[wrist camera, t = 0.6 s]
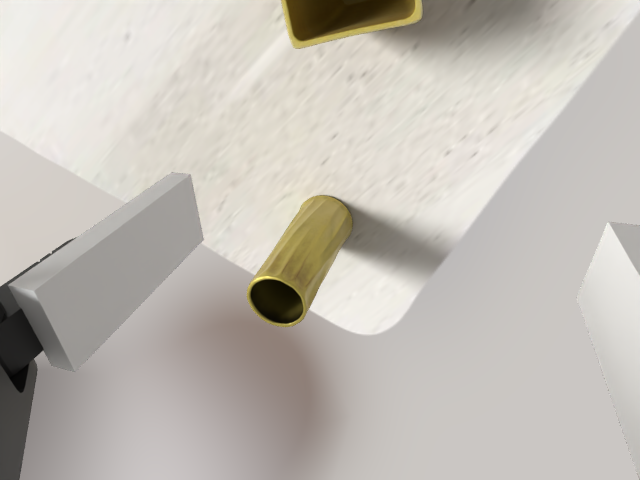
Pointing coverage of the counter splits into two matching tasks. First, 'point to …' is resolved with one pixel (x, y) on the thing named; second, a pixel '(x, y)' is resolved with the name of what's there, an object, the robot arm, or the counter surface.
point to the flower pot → (345, 18)
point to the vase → (300, 262)
